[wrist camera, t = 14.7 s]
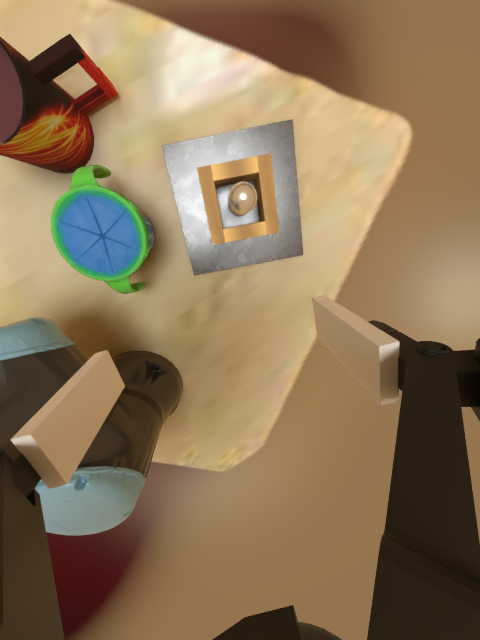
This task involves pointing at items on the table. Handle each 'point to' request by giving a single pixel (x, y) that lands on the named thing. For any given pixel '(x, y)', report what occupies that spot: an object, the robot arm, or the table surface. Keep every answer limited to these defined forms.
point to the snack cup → (101, 231)
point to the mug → (48, 107)
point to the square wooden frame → (231, 174)
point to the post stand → (236, 196)
